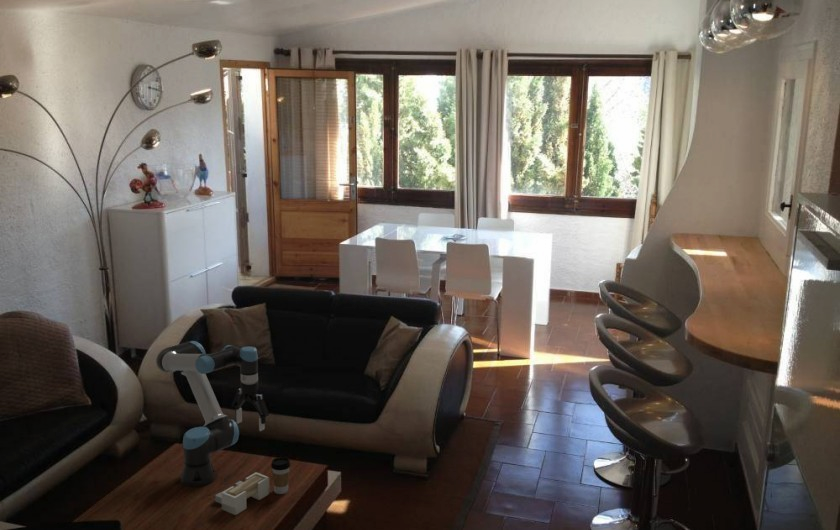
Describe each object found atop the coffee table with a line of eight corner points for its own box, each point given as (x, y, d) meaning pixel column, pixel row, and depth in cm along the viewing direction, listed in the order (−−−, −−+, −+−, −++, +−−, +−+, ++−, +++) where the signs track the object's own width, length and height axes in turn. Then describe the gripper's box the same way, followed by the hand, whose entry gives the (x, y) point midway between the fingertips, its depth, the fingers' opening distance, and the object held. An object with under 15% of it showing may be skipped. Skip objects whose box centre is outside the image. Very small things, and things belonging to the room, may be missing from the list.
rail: (228, 501, 320) (228, 491, 318) (255, 485, 333) (254, 475, 332) (236, 504, 317) (236, 494, 316) (262, 488, 331) (262, 478, 330)
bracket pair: (221, 509, 319) (221, 492, 317) (256, 488, 337) (255, 472, 335) (235, 515, 315) (235, 498, 313) (269, 493, 333) (269, 477, 331)
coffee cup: (286, 496, 330) (286, 465, 327) (268, 494, 332) (268, 463, 329) (293, 487, 338) (293, 457, 335) (275, 484, 340) (275, 454, 337)
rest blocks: (215, 501, 325) (215, 495, 324) (240, 486, 338) (240, 480, 337) (223, 504, 323) (223, 498, 322) (248, 489, 335) (248, 483, 334)
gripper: (222, 378, 332) (224, 422, 336) (264, 390, 319) (265, 436, 324) (234, 373, 338) (236, 416, 343) (276, 385, 325) (277, 430, 330)
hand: (250, 426), depth 333 cm, fingers open, 13 cm apart
